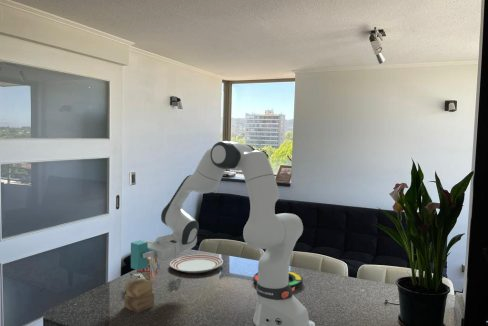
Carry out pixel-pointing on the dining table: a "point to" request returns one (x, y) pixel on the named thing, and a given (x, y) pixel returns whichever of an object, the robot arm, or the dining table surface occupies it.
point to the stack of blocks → (150, 269)
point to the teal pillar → (139, 255)
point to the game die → (136, 276)
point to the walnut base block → (138, 303)
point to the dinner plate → (196, 263)
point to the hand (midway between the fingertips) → (137, 254)
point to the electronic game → (293, 276)
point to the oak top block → (139, 288)
